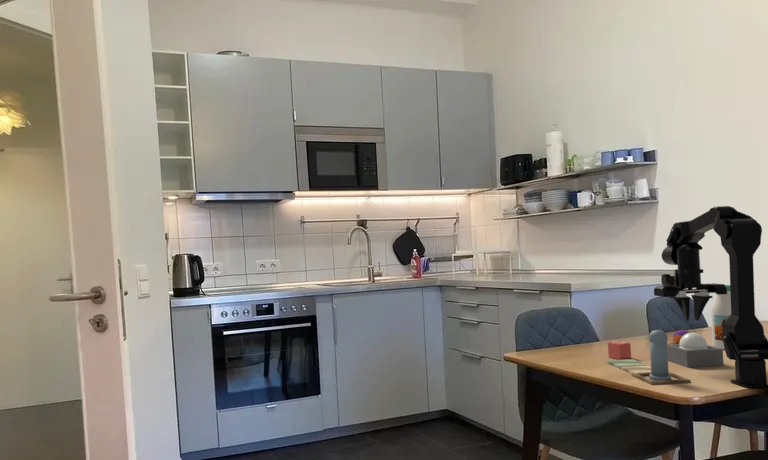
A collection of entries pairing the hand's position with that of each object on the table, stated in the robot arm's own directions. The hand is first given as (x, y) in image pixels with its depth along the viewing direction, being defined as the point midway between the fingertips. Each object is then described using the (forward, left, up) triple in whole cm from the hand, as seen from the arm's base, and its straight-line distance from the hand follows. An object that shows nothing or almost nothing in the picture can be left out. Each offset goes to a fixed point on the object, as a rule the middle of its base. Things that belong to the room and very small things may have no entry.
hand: (691, 320), depth 163 cm
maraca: (+18, -5, -12) cm, 22 cm away
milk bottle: (+18, -22, -12) cm, 31 cm away
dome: (0, 0, -10) cm, 10 cm away
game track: (-7, +19, -12) cm, 24 cm away
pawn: (-16, +19, -12) cm, 28 cm away
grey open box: (0, 0, -12) cm, 12 cm away
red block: (+12, +16, -12) cm, 23 cm away
